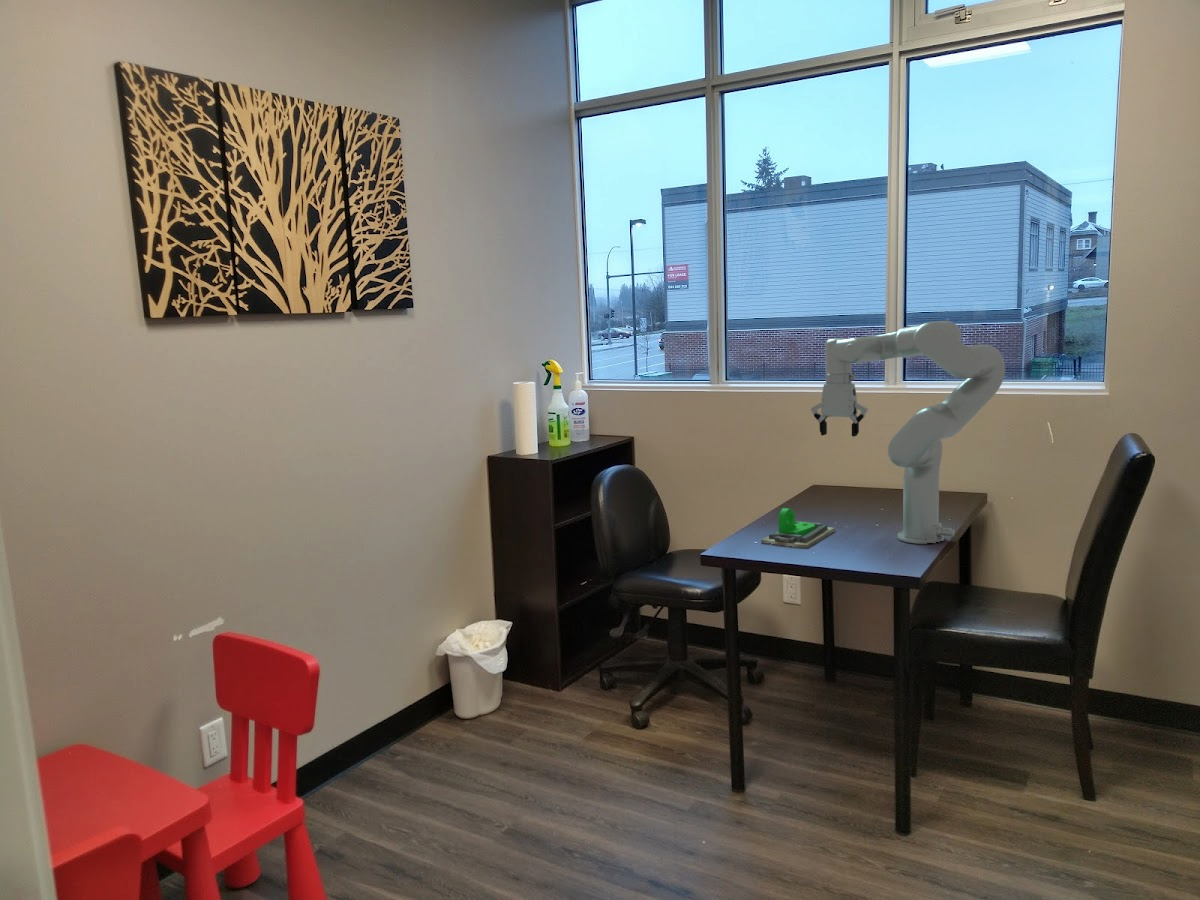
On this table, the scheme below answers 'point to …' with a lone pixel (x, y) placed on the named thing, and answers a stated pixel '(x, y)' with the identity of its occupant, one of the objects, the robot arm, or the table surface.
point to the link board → (800, 544)
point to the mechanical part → (793, 524)
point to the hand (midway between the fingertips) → (839, 435)
